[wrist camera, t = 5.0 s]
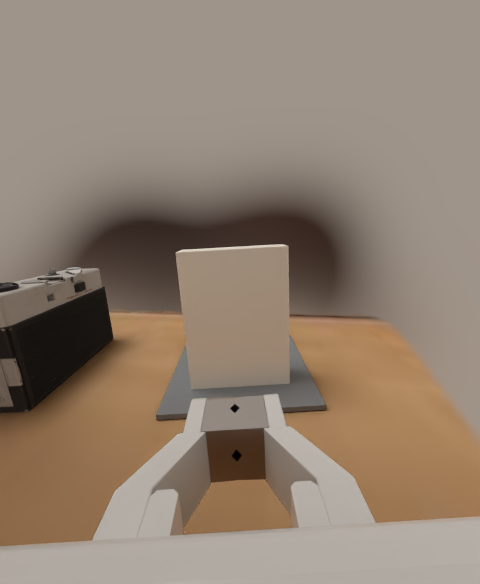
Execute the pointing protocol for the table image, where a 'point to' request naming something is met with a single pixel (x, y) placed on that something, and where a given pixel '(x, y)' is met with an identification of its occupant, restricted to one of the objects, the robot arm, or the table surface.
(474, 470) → the table surface
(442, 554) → the robot arm
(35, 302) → the camera
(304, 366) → the mat
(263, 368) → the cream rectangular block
